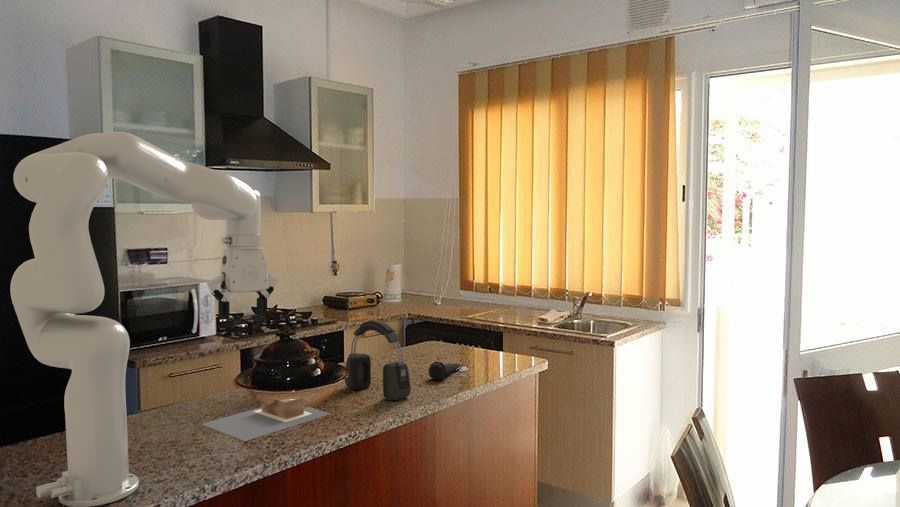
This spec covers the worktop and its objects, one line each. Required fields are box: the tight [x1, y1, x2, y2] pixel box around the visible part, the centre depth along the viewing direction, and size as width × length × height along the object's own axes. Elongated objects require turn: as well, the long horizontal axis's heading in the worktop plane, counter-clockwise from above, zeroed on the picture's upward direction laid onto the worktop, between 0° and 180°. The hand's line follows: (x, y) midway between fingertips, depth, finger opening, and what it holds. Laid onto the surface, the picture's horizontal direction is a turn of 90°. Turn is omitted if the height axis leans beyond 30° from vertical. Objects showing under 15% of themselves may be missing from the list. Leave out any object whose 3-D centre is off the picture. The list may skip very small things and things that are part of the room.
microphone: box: [428, 361, 463, 381], centre depth 198 cm, size 6×6×20 cm
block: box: [261, 397, 305, 419], centre depth 159 cm, size 10×5×4 cm, turn 51°
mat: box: [200, 406, 332, 442], centre depth 154 cm, size 24×18×1 cm
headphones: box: [344, 319, 412, 401], centre depth 177 cm, size 22×6×20 cm, turn 47°
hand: (243, 316), depth 150 cm, fingers open, 9 cm apart
